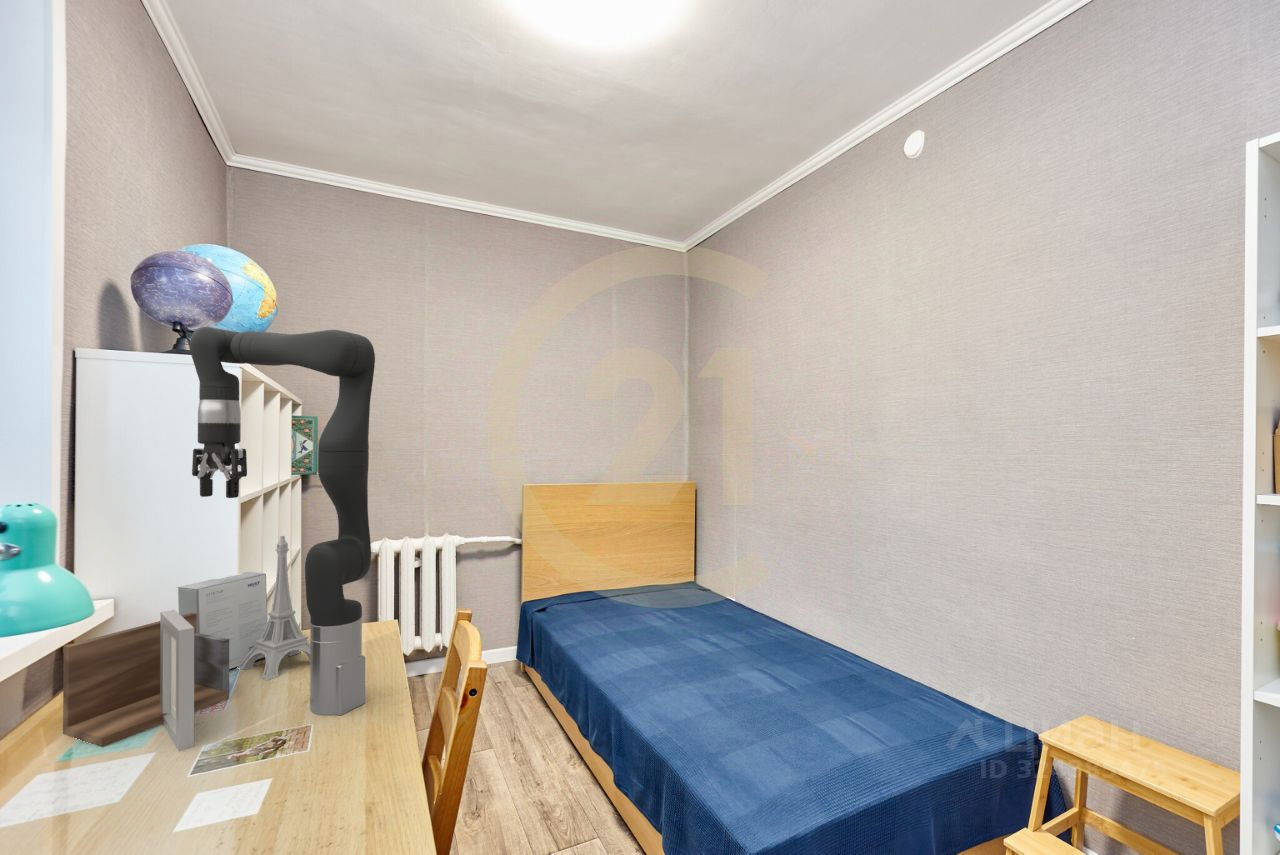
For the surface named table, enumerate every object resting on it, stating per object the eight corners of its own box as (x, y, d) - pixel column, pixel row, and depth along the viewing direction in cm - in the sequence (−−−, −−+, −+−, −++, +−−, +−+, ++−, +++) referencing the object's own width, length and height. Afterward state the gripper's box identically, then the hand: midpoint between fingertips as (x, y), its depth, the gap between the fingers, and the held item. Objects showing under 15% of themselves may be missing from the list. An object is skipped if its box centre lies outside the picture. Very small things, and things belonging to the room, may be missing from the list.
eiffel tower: (326, 661, 140) (326, 534, 140) (266, 681, 128) (267, 543, 128) (294, 650, 146) (295, 529, 147) (235, 669, 135) (236, 538, 135)
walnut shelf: (229, 698, 119) (229, 619, 119) (102, 750, 100) (102, 655, 100) (191, 689, 124) (191, 612, 124) (62, 736, 104) (63, 645, 105)
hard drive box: (250, 652, 145) (248, 571, 145) (270, 656, 141) (268, 572, 142) (178, 676, 131) (176, 585, 131) (198, 680, 127) (196, 588, 128)
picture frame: (160, 723, 110) (160, 612, 110) (179, 718, 112) (179, 608, 112) (178, 753, 99) (178, 630, 100) (199, 747, 102) (199, 626, 102)
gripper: (259, 421, 127) (258, 496, 127) (216, 422, 133) (215, 494, 133) (223, 420, 120) (222, 500, 120) (179, 421, 126) (178, 497, 126)
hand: (219, 497), depth 126 cm, fingers open, 8 cm apart
